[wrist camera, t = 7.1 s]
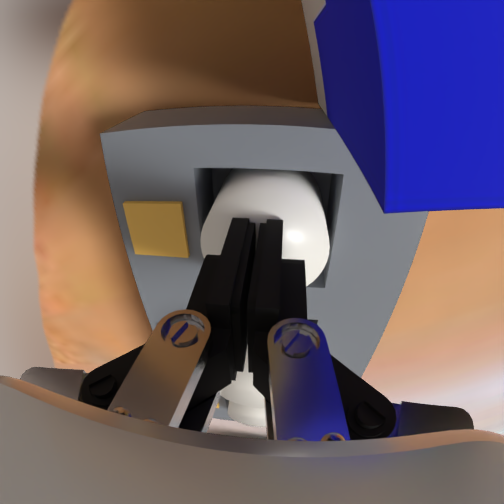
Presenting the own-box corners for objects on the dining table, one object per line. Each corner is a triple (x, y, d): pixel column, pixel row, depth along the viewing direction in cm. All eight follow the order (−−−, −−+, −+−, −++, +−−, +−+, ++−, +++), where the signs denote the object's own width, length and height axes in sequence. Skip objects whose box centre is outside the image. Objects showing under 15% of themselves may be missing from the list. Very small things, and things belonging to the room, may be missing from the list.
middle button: (310, 308, 15) (311, 368, 12) (300, 358, 17) (299, 410, 14) (221, 302, 15) (206, 360, 12) (227, 352, 18) (217, 403, 15)
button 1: (325, 158, 12) (338, 194, 9) (315, 247, 14) (320, 300, 11) (217, 153, 12) (194, 188, 9) (223, 241, 15) (206, 292, 12)
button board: (405, 120, 11) (447, 148, 8) (331, 385, 24) (332, 427, 21) (144, 111, 13) (96, 135, 9) (197, 375, 26) (187, 416, 22)
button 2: (296, 361, 20) (294, 405, 17) (290, 390, 22) (288, 428, 20) (232, 356, 20) (224, 400, 17) (236, 386, 23) (229, 423, 20)
